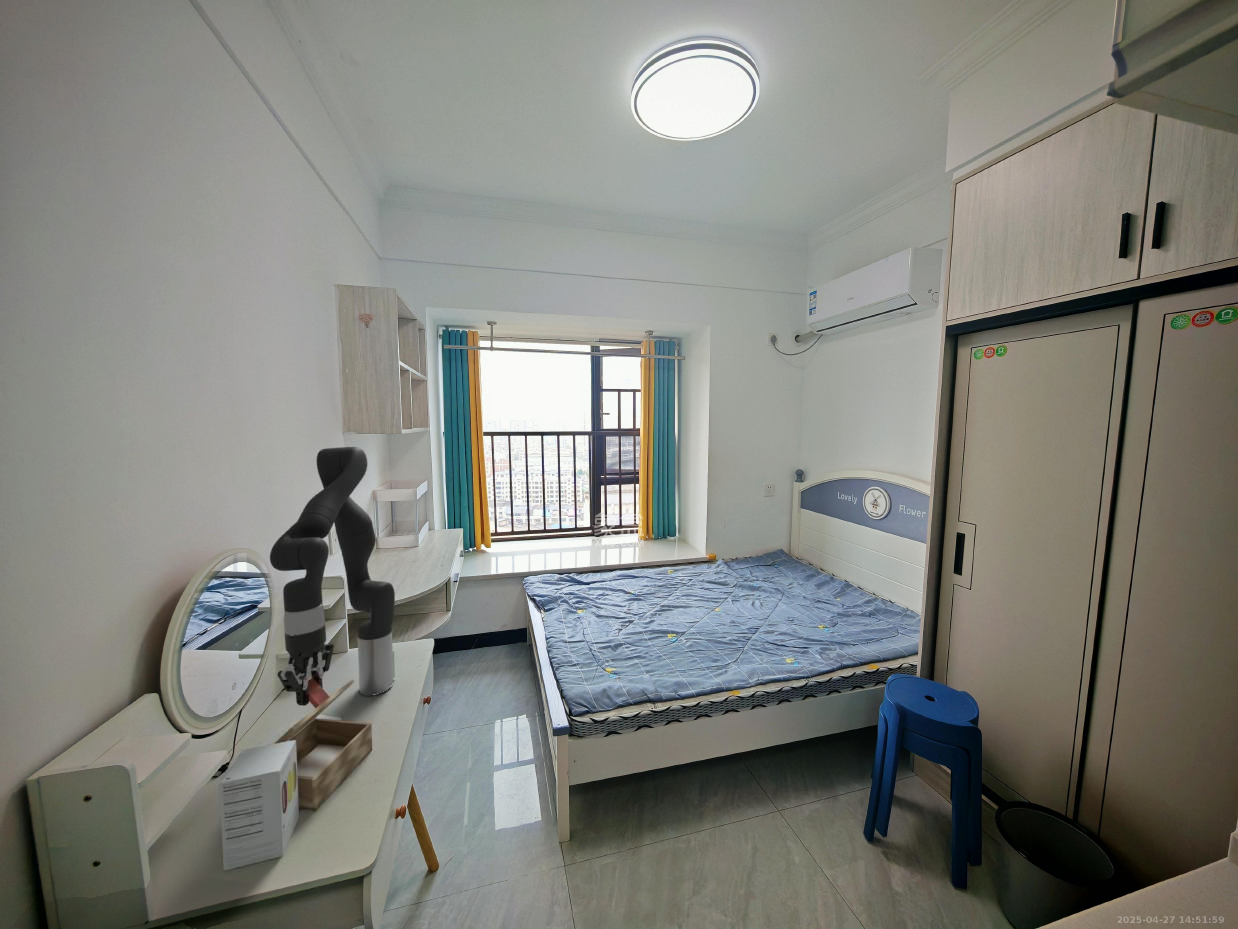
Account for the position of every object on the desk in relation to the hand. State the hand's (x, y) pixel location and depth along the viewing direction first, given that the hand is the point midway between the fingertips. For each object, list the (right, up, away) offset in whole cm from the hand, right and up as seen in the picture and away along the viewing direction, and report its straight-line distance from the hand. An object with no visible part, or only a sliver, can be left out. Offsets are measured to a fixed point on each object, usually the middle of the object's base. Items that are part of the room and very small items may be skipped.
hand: (310, 699), depth 102 cm
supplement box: (+2, -20, -16) cm, 25 cm away
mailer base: (0, -18, +1) cm, 18 cm away
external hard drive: (-11, -18, +15) cm, 25 cm away
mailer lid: (-1, -6, +1) cm, 6 cm away
